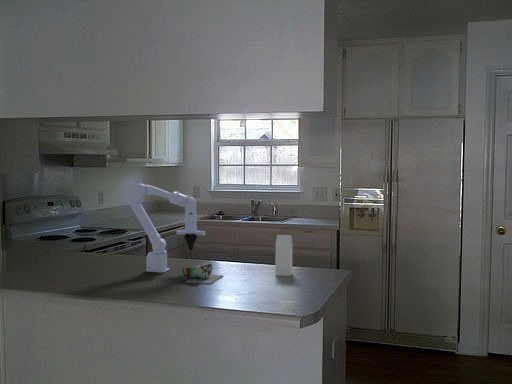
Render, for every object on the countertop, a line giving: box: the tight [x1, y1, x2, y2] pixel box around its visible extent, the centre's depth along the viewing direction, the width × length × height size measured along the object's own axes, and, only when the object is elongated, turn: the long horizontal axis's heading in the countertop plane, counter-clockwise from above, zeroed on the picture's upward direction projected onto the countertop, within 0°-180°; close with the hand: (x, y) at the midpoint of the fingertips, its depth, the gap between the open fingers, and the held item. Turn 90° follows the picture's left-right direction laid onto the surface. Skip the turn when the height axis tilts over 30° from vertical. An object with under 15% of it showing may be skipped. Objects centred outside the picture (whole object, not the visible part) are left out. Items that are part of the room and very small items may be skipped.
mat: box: [185, 274, 224, 285], centre depth 243 cm, size 12×16×1 cm
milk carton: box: [274, 234, 294, 277], centre depth 254 cm, size 7×7×19 cm
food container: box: [181, 263, 213, 279], centre depth 244 cm, size 12×6×10 cm
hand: (191, 249), depth 262 cm, fingers closed
